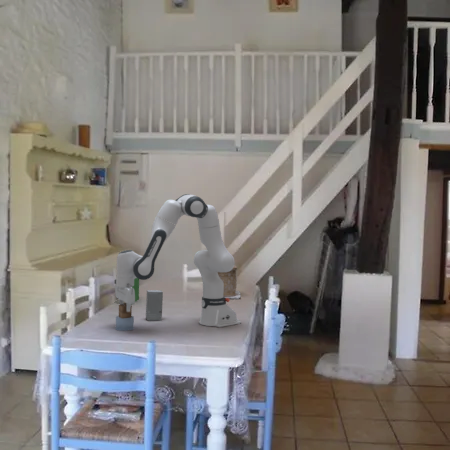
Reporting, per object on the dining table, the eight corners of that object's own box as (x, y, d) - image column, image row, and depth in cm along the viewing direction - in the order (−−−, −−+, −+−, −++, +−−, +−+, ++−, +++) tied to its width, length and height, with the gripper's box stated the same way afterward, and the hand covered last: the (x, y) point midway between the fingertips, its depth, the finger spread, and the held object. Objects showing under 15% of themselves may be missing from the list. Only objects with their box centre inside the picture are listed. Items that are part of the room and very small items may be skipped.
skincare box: (147, 321, 291) (147, 291, 291) (145, 318, 298) (145, 289, 298) (162, 320, 294) (163, 291, 293) (160, 317, 301) (161, 289, 300)
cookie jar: (240, 299, 359) (242, 251, 357) (203, 298, 360) (204, 250, 358) (240, 293, 384) (241, 248, 382) (205, 292, 384) (206, 247, 383)
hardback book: (131, 304, 334) (131, 265, 333) (119, 304, 335) (120, 265, 334) (138, 299, 352) (139, 262, 351) (127, 298, 353) (128, 262, 351)
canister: (130, 325, 281) (130, 314, 281) (136, 329, 273) (136, 318, 272) (112, 327, 276) (112, 315, 276) (118, 331, 268) (118, 319, 268)
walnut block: (128, 315, 278) (128, 304, 277) (131, 317, 273) (131, 305, 273) (118, 316, 275) (118, 304, 275) (121, 318, 271) (122, 306, 270)
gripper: (138, 285, 266) (138, 313, 266) (124, 279, 284) (124, 305, 284) (126, 286, 263) (125, 314, 263) (113, 279, 281) (112, 306, 281)
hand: (125, 309), depth 274 cm, fingers open, 8 cm apart
